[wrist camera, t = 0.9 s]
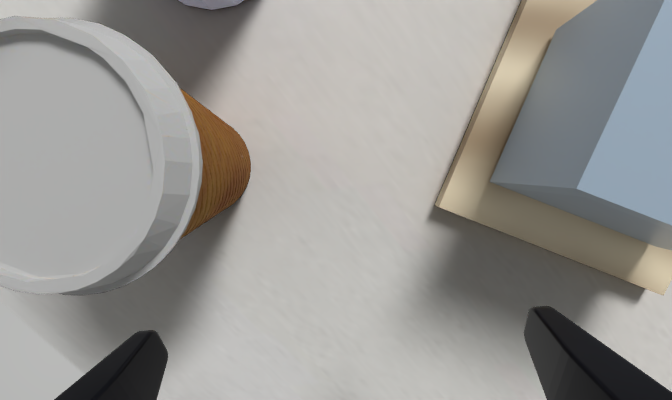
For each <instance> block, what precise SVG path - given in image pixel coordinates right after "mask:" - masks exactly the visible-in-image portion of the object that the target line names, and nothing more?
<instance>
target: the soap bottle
mask: <svg viewBox="0 0 672 400" xmlns="http://www.w3.org/2000/svg"><path fill="white" fill-rule="evenodd" d="M178 1H180V2H182V3H183V4H185V5H188V6H193V7H199V8H204V9H210V10H214V9H220V8H225V7H230V6H235V5H238V4H239V3H241V2H242V1H244V0H178Z"/></svg>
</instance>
